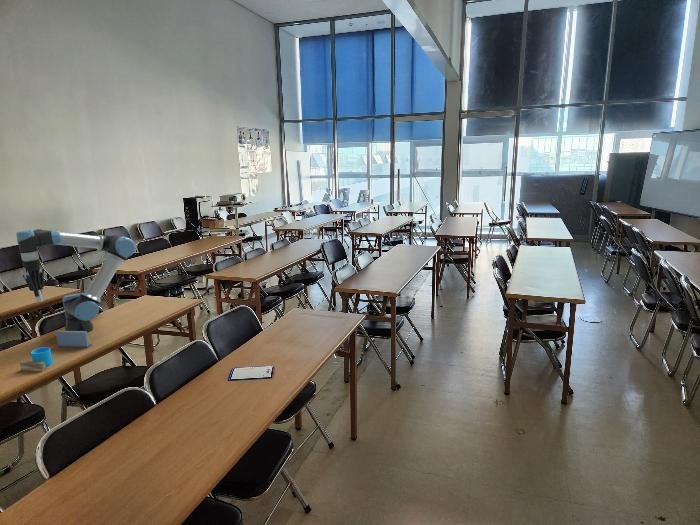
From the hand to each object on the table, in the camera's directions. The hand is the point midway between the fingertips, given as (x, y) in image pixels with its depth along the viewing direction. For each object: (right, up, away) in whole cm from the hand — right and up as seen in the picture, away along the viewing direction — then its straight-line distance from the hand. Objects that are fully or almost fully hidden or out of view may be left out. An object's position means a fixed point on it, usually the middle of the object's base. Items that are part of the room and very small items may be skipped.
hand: (40, 301), depth 244 cm
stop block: (+11, -32, -21) cm, 40 cm away
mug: (+12, -31, -14) cm, 36 cm away
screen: (+15, -26, +6) cm, 30 cm away
